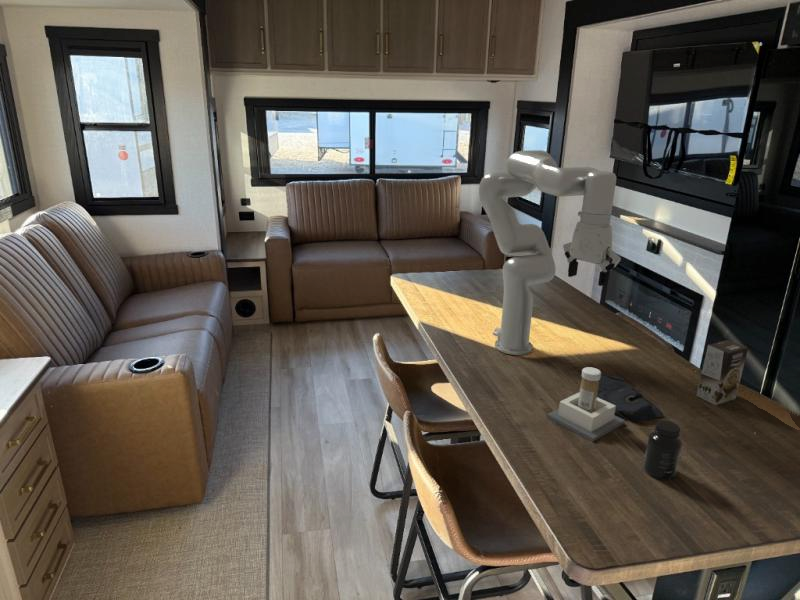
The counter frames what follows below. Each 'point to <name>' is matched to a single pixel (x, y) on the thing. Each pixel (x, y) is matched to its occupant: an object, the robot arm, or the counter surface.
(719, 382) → the coffee box
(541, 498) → the counter surface
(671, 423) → the supplement bottle
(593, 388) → the sprinkles bottle
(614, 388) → the dark slate chunk
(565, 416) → the bottle holder
